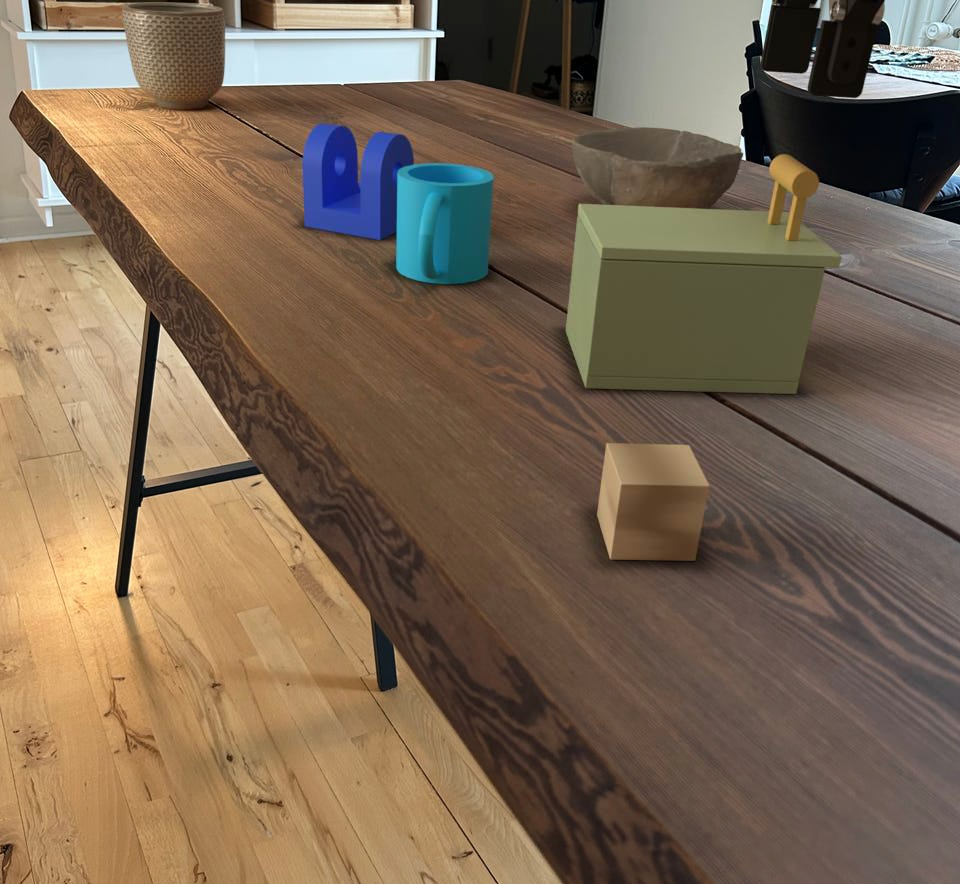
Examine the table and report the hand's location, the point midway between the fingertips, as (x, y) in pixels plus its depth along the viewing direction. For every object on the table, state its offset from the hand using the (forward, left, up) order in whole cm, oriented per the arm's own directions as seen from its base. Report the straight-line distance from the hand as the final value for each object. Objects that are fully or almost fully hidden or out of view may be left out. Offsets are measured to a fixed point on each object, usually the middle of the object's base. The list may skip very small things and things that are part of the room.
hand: (806, 83), depth 66 cm
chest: (+6, 0, -19) cm, 20 cm away
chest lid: (+5, 0, -10) cm, 12 cm away
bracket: (+28, -38, -19) cm, 51 cm away
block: (+13, +24, -19) cm, 34 cm away
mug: (+23, -18, -19) cm, 35 cm away
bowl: (0, -41, -19) cm, 45 cm away
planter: (+59, -93, -19) cm, 112 cm away
